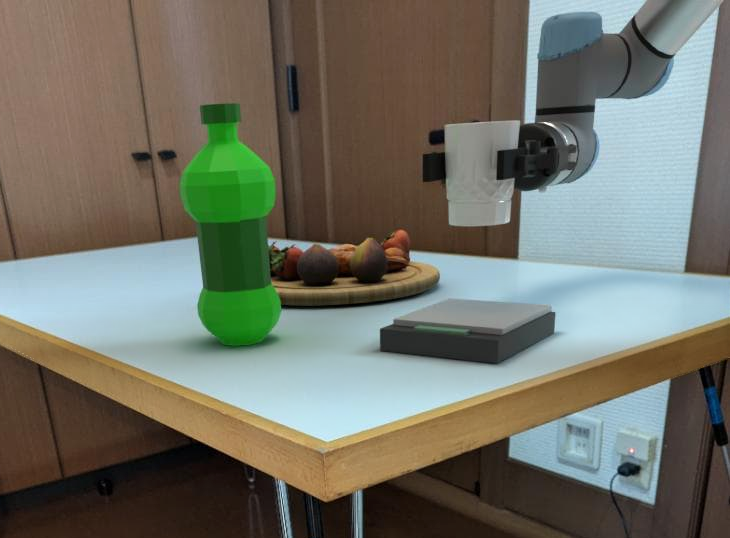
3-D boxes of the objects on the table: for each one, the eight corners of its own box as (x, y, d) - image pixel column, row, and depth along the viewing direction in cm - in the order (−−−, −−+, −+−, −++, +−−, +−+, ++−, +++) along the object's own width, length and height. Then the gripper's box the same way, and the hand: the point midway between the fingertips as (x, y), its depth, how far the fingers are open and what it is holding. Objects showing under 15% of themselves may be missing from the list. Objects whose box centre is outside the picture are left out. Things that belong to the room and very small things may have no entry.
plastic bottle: (269, 327, 102) (251, 105, 91) (295, 343, 93) (279, 99, 82) (192, 337, 99) (164, 109, 88) (211, 355, 90) (182, 103, 79)
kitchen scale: (554, 333, 91) (556, 305, 90) (497, 363, 81) (498, 332, 79) (445, 323, 99) (445, 297, 97) (380, 350, 88) (379, 322, 87)
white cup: (428, 226, 89) (429, 125, 84) (469, 219, 94) (471, 123, 89) (489, 228, 84) (493, 121, 79) (528, 220, 89) (534, 119, 84)
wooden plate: (381, 267, 144) (380, 218, 141) (480, 290, 118) (482, 231, 114) (210, 287, 133) (204, 234, 130) (278, 318, 107) (273, 253, 103)
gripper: (617, 187, 96) (557, 204, 79) (460, 190, 106) (376, 206, 89) (625, 117, 93) (563, 119, 76) (461, 127, 103) (374, 131, 86)
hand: (462, 166), depth 83 cm, fingers closed on white cup, 8 cm apart
